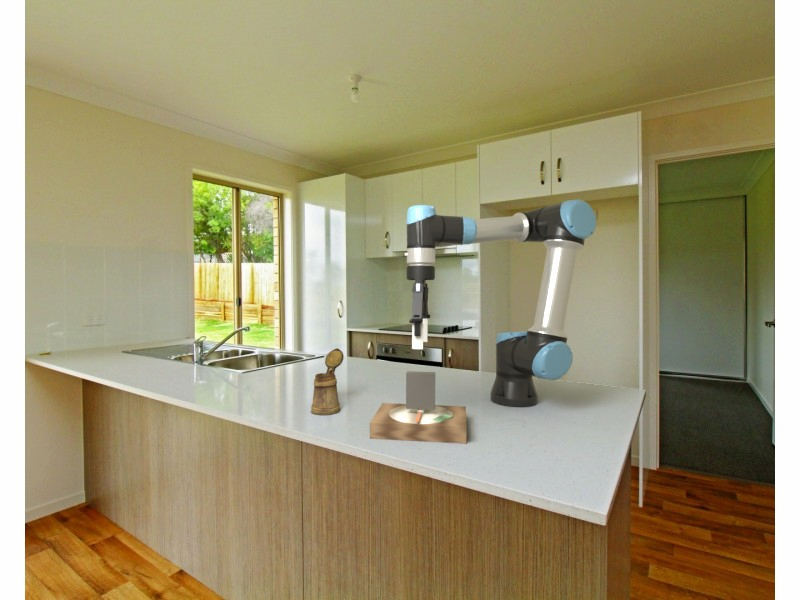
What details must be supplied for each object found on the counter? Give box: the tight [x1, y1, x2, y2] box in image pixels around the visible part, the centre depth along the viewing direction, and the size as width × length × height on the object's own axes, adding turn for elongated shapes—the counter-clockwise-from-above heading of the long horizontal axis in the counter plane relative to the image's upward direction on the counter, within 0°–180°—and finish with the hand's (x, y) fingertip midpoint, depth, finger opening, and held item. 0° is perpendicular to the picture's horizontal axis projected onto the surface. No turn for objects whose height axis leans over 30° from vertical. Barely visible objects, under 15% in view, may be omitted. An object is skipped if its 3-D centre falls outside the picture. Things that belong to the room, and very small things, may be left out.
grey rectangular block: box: [405, 370, 436, 422], centre depth 112 cm, size 8×10×11 cm
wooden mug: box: [310, 348, 345, 416], centre depth 134 cm, size 9×14×18 cm, turn 163°
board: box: [369, 402, 467, 444], centre depth 116 cm, size 24×18×4 cm
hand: (420, 345), depth 116 cm, fingers open, 13 cm apart
